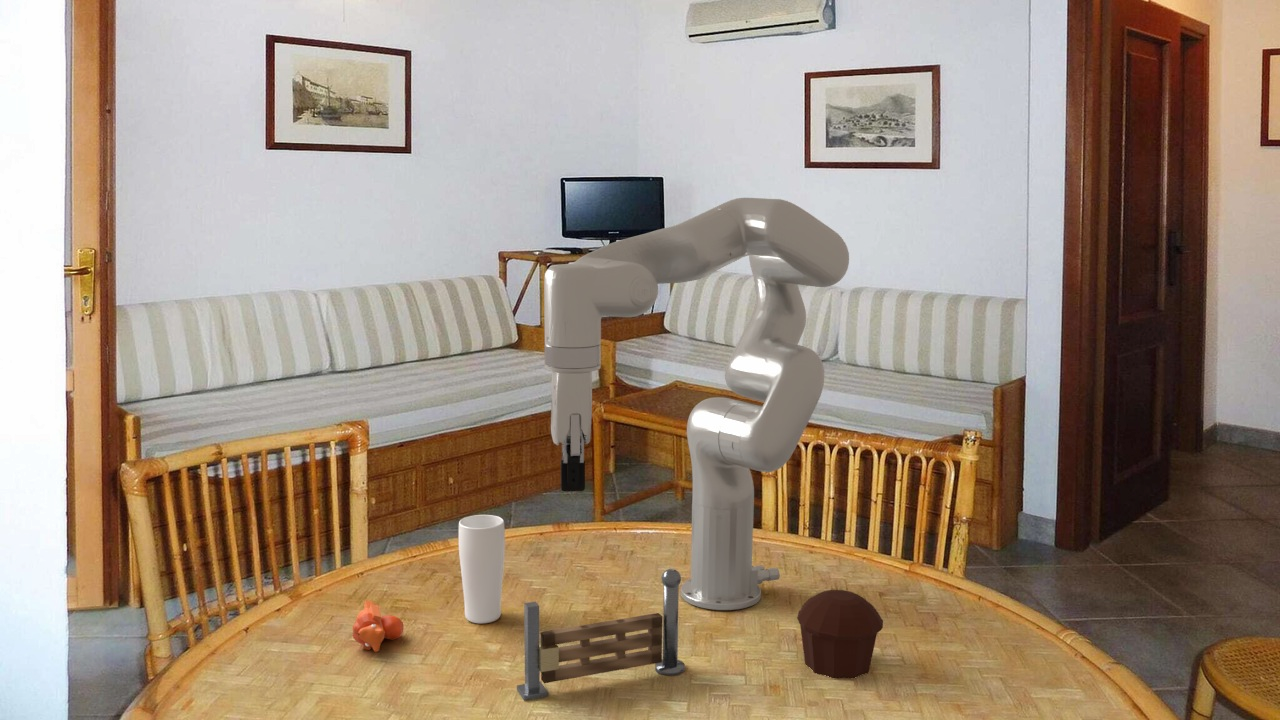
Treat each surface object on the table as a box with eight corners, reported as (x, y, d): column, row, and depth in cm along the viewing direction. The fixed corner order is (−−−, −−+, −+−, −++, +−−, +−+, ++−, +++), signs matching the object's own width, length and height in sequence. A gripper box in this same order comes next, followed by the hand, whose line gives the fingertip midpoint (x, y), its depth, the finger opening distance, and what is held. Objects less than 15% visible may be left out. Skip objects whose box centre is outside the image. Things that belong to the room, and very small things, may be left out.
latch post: (550, 683, 150) (550, 596, 148) (558, 694, 147) (558, 606, 145) (516, 689, 148) (515, 601, 146) (524, 700, 145) (523, 611, 143)
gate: (658, 658, 154) (658, 612, 153) (661, 662, 153) (662, 616, 152) (541, 679, 148) (540, 631, 147) (544, 683, 147) (543, 635, 146)
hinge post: (677, 660, 157) (678, 562, 155) (689, 672, 153) (691, 572, 151) (650, 665, 156) (651, 566, 153) (662, 677, 152) (663, 576, 149)
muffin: (778, 660, 158) (780, 591, 156) (834, 640, 164) (837, 573, 163) (842, 692, 148) (845, 619, 147) (899, 669, 155) (902, 599, 153)
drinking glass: (497, 628, 167) (496, 530, 164) (453, 624, 168) (451, 526, 166) (511, 611, 174) (510, 516, 171) (469, 607, 175) (467, 512, 172)
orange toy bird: (353, 589, 167) (360, 620, 155) (403, 599, 169) (413, 631, 158) (343, 621, 167) (349, 655, 156) (393, 631, 170) (402, 665, 158)
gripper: (542, 348, 160) (542, 475, 164) (547, 367, 146) (548, 506, 149) (595, 347, 161) (595, 474, 164) (606, 366, 147) (605, 505, 150)
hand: (572, 489), depth 157 cm, fingers closed
